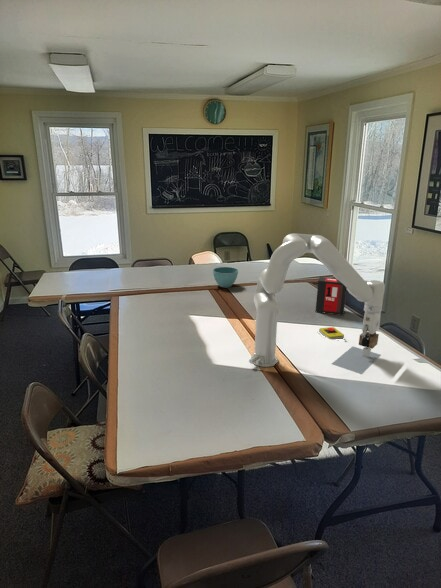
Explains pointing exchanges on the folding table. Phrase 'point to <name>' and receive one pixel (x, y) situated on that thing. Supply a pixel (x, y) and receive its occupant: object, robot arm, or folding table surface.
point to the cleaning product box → (330, 296)
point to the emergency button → (331, 333)
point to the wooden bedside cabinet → (372, 338)
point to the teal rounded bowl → (225, 276)
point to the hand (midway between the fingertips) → (368, 343)
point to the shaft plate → (357, 359)
